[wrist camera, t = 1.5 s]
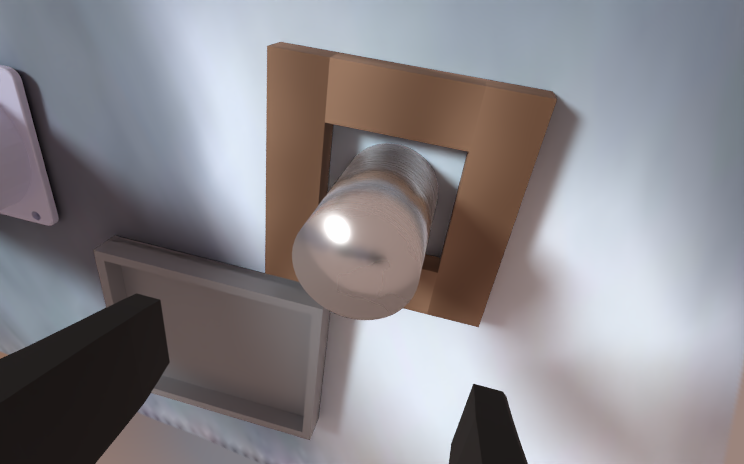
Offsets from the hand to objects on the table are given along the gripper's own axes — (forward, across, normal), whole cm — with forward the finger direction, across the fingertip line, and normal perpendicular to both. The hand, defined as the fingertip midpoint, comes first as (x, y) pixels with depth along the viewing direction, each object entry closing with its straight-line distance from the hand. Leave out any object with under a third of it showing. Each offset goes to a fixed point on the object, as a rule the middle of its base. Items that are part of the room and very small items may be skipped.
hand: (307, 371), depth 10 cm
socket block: (+10, 0, 0) cm, 10 cm away
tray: (+10, +8, +11) cm, 17 cm away
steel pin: (+10, 0, 0) cm, 10 cm away
